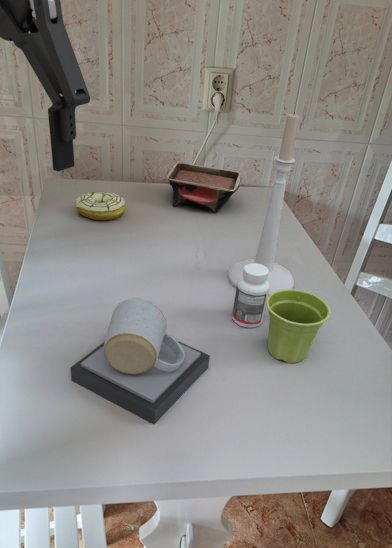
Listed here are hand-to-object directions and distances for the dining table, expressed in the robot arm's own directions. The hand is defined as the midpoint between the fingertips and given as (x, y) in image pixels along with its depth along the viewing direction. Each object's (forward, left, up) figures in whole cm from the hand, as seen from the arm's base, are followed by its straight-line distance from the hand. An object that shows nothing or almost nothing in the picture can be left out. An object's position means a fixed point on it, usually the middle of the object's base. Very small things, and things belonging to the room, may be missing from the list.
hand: (21, 154), depth 59 cm
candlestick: (+20, +37, -27) cm, 50 cm away
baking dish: (-8, +62, -27) cm, 68 cm away
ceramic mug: (+18, +1, -24) cm, 30 cm away
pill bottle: (+24, +23, -27) cm, 43 cm away
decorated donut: (-22, +40, -27) cm, 53 cm away
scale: (+18, +1, -27) cm, 32 cm away
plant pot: (+33, +19, -27) cm, 47 cm away
